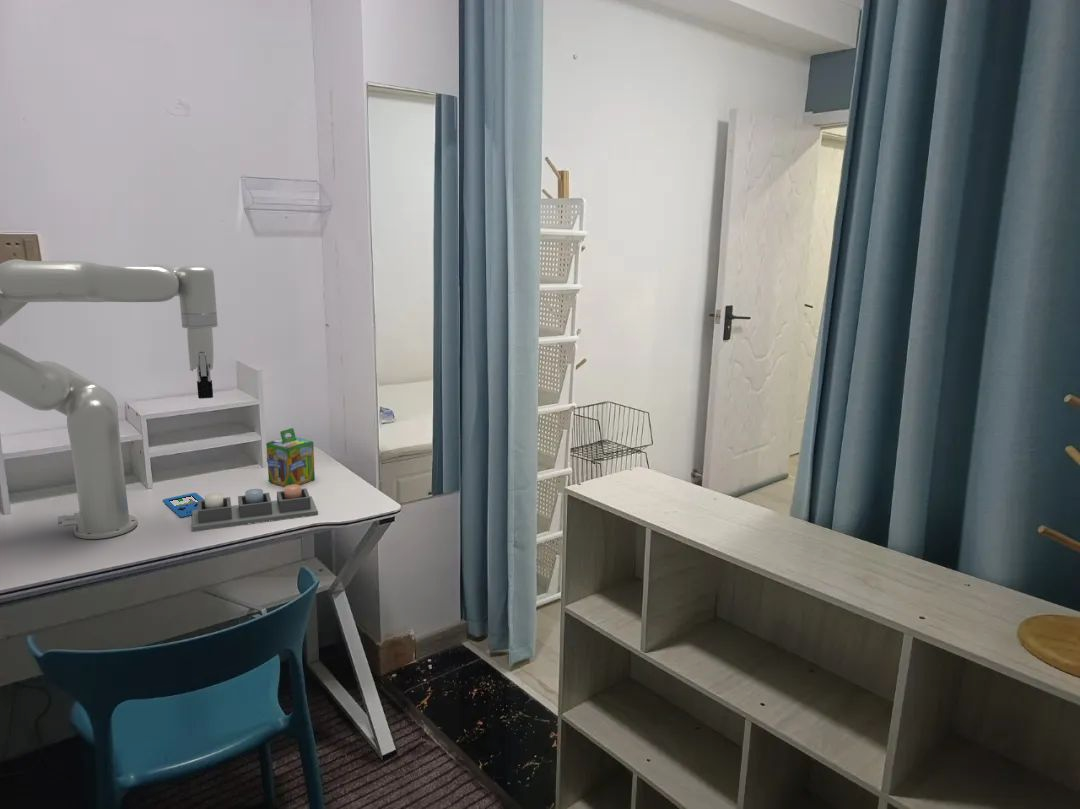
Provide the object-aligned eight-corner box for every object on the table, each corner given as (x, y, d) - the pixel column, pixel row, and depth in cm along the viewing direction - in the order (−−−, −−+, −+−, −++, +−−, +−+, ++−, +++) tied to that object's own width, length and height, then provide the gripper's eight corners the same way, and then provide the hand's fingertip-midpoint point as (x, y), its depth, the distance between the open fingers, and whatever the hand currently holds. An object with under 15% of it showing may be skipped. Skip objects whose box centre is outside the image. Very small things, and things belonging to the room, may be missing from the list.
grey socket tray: (192, 531, 166) (191, 515, 165) (192, 514, 176) (191, 498, 175) (317, 514, 178) (317, 499, 177) (311, 499, 188) (310, 485, 187)
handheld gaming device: (180, 515, 173) (161, 498, 184) (181, 520, 173) (161, 502, 184) (216, 507, 179) (195, 491, 189) (216, 511, 179) (195, 495, 189)
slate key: (246, 507, 174) (245, 495, 173) (245, 502, 177) (244, 489, 176) (264, 505, 175) (263, 493, 175) (263, 500, 179) (262, 487, 178)
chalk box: (290, 489, 195) (287, 436, 191) (267, 482, 199) (264, 431, 196) (316, 479, 203) (314, 429, 199) (293, 473, 207) (291, 424, 204)
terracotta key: (285, 502, 177) (285, 490, 177) (284, 497, 181) (283, 485, 180) (302, 500, 179) (302, 488, 178) (300, 495, 183) (300, 483, 182)
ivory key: (205, 512, 170) (204, 500, 169) (205, 507, 174) (204, 494, 173) (224, 510, 172) (223, 497, 171) (223, 504, 175) (222, 492, 174)
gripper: (182, 316, 172) (188, 392, 176) (180, 324, 158) (187, 405, 163) (216, 316, 175) (222, 390, 179) (218, 323, 162) (224, 403, 166)
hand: (205, 397), depth 171 cm, fingers closed
